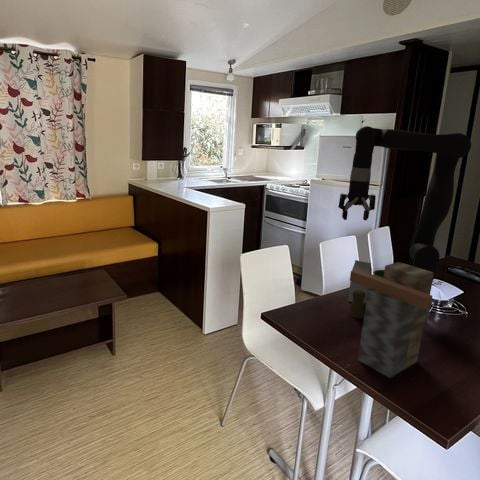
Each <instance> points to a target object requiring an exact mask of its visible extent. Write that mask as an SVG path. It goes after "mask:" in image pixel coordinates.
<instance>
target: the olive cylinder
mask: <svg viewBox="0 0 480 480" xmlns="http://www.w3.org/2000/svg"><path fill="white" fill-rule="evenodd" d="M352 295H353V301H352V302H351V305H350V309H349V311H348V315H349V316H350V317H351V318H353V319H362V318H363V319H364V314H365V308H364V306H365V304H364V298H365V292H364V291H362V290H354V291H353V294H352Z"/></svg>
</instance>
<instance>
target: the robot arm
mask: <svg viewBox="0 0 480 480" xmlns="http://www.w3.org/2000/svg"><path fill="white" fill-rule="evenodd" d="M355 141H356V142H355V150H354V151H355V152H354V155H353V158H352V167H351V170H350V171H351V172H350V176H349V186H348V187H349V188H348V192H347V193H340V194H339V195H340V196H339V201H338V206H337V207H338V209H341V210H342V213H341V214H342V215H341V218H342V219H343V220H344V221H347V220H348V212H349V209H350V208H352V206H362V208H363V209H364V210H363V216H362V217H363V218H362V219H363V220H364V221H368V219H369V217H370V216H369V215H370V212H371V211H374V210H375V209H376V197H377V196H376V194H373V193H371V194H369V191H370V184H371V177H372V176H371V175H372V164H373V153H374V150H375V147H381V148H384V149H391V150H397V151H415V152H426V153H433V154H436V157H435V162H434V169H433V173H432V175H431V178H430V180H429V184H428V186H427V187H428V188H427V191H426V194H425V197H424V201H423V205H422V209H421V214H420V216H419V217H420V218H419V222H418V227H417V230H416V232H415V235H414V238H413V240H412V243H411V245H410V248H409V257H410V259H411V260H412V261H413V264H412V266H414V267H417V268H420V269H424V270H427V271H430V272H434V274H433V280H432V283H433V282H434V280H435V278H436V276H437V272H438V267H439V263H440V258H441V257H440V255H441V254H440V252H439V250H438V249H437V248H436V247H435V245H434V244H435V238H436V234H437V232H438V230H439V228H440V227H441V225H442V224H443V222H444V221H445V219H446V218H447V216H448V214H449V212H450V208H451V206H452V202H453V198H454V190H455V172H456V168H457V166H458V163H459V159H461V158H463V157H465V156H466V155H467V154H469V153H470V151H471V148H472V141H471V139H470V138H469V137H468V135H466V134H464V133H462V132H461V133H460V132H455V133H454V132H453V133H448V134H434V133H432V134H431V133H424V132H416V131H415V132H414V131H411V130H410V131H409V130H403V129H393V128H387V129H383V128H377V127H372V126H368V125H367V126H362V127H360V128H359V129H358V130H356V134H355ZM347 199H348V200H347ZM346 200H347V201H346ZM367 200H369V204H368V202H367ZM345 202H346V203H345ZM432 286H433V284H432V285H431V288H432ZM431 291H432V289H431V290H430V293H431ZM430 309H431V307H429V308H427V311H426V316H425V322H424V325H425V324H427V323H428V320H429V314H430Z"/></svg>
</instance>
